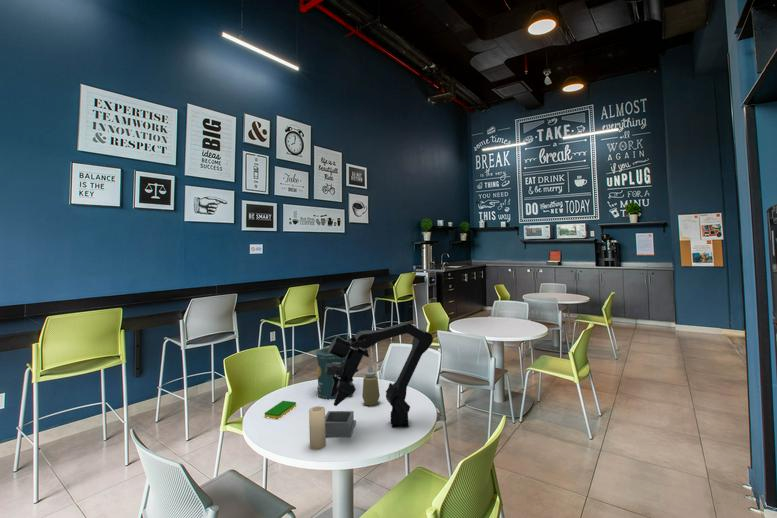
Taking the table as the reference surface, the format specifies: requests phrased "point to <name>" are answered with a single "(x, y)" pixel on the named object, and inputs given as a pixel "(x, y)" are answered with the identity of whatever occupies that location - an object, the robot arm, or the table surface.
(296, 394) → the table surface
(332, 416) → the square tray
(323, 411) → the paper roll
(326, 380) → the dark green canister
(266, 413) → the dish sponge
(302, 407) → the table surface
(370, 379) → the squeeze bottle
